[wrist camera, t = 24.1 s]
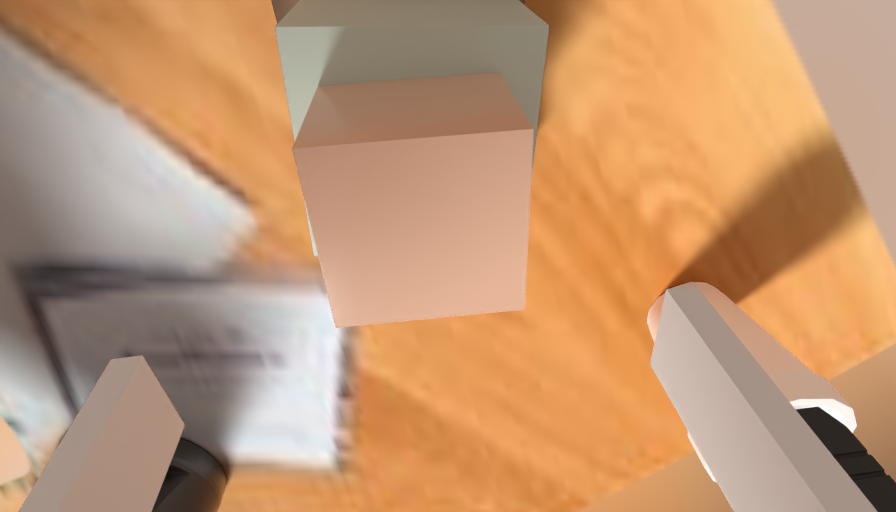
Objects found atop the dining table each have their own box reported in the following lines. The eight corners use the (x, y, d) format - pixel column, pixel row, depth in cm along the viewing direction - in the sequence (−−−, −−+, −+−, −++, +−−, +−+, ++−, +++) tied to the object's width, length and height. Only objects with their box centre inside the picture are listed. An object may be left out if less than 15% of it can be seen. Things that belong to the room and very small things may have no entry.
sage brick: (329, 187, 30) (314, 256, 24) (303, -4, 24) (274, 27, 18) (499, 182, 30) (523, 247, 25) (513, -5, 25) (549, 25, 19)
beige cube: (348, 238, 23) (335, 327, 19) (317, 85, 19) (292, 148, 15) (497, 225, 24) (524, 309, 19) (498, 71, 20) (533, 128, 15)
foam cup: (669, 254, 39) (770, 387, 29) (763, 278, 42) (889, 409, 31) (609, 341, 44) (677, 480, 34) (696, 358, 47) (785, 493, 36)
